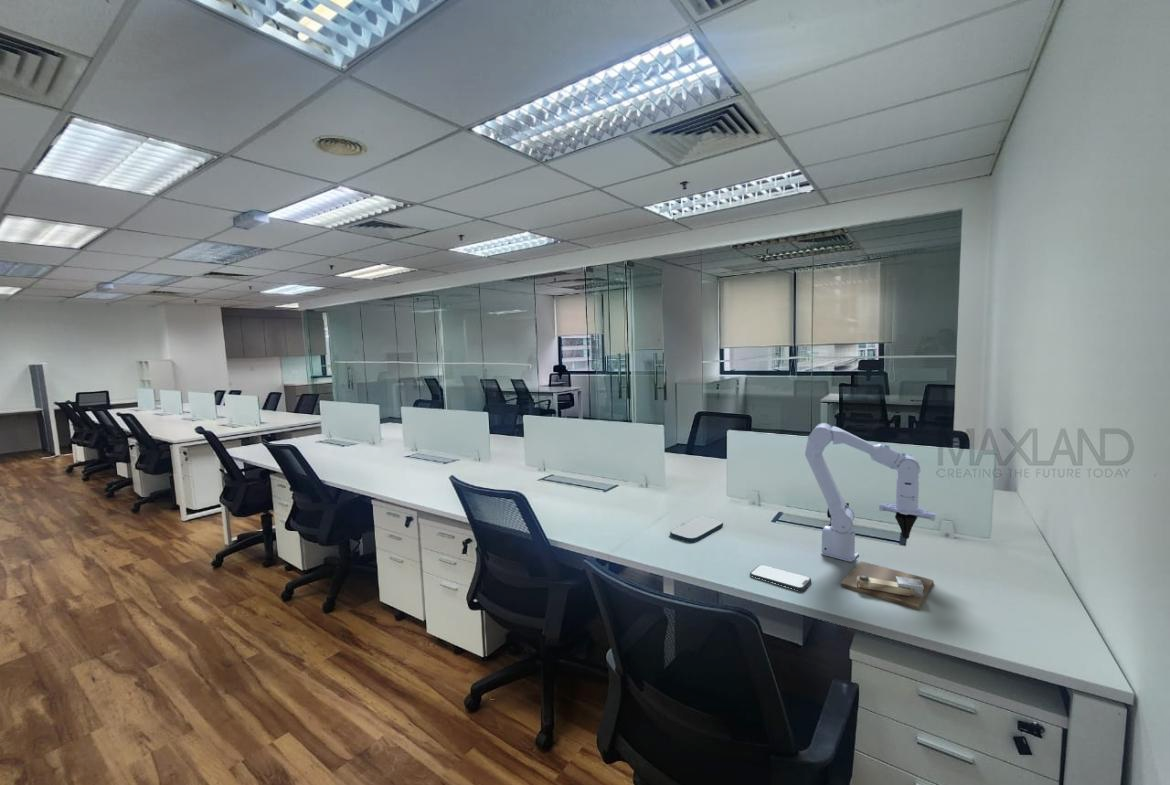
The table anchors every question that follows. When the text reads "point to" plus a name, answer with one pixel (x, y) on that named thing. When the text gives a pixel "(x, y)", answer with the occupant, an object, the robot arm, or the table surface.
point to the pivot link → (882, 585)
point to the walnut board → (888, 575)
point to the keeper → (911, 585)
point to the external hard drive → (696, 529)
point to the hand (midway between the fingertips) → (905, 537)
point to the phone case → (781, 577)
